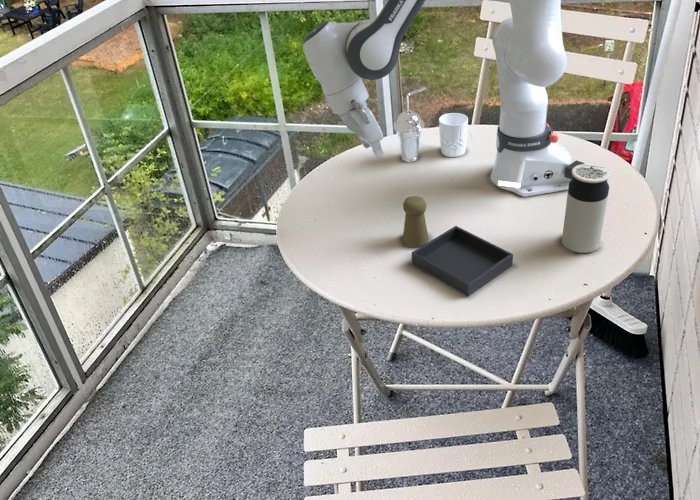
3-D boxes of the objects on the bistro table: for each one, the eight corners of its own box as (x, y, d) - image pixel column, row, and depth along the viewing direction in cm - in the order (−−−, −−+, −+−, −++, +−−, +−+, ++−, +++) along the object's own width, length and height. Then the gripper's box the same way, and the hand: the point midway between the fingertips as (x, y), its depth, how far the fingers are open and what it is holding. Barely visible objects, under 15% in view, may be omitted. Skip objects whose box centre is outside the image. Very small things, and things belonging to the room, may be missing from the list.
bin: (411, 264, 144) (411, 252, 142) (455, 236, 151) (455, 225, 149) (468, 296, 133) (468, 284, 132) (512, 265, 140) (513, 254, 139)
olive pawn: (411, 250, 148) (410, 209, 142) (397, 237, 152) (395, 197, 146) (434, 241, 150) (433, 200, 144) (419, 229, 154) (418, 189, 148)
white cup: (466, 144, 187) (467, 112, 181) (468, 157, 181) (468, 124, 175) (438, 145, 188) (438, 113, 182) (439, 158, 182) (439, 125, 176)
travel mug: (593, 257, 140) (605, 184, 130) (556, 248, 144) (565, 177, 133) (603, 238, 145) (616, 166, 135) (567, 229, 149) (577, 159, 139)
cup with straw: (397, 150, 188) (393, 83, 176) (428, 151, 186) (427, 83, 174) (392, 164, 181) (389, 96, 169) (425, 165, 179) (423, 96, 168)
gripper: (373, 97, 134) (400, 154, 140) (348, 84, 153) (373, 135, 159) (347, 112, 134) (375, 169, 140) (325, 97, 152) (350, 148, 159)
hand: (374, 151), depth 150 cm, fingers open, 8 cm apart
